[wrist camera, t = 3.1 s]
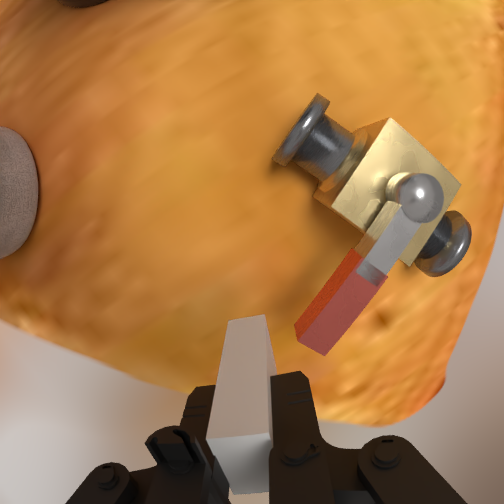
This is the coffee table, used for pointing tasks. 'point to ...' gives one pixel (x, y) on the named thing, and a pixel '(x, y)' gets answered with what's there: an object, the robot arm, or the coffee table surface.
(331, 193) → the valve body
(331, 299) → the lever
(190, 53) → the coffee table surface
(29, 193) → the planter
